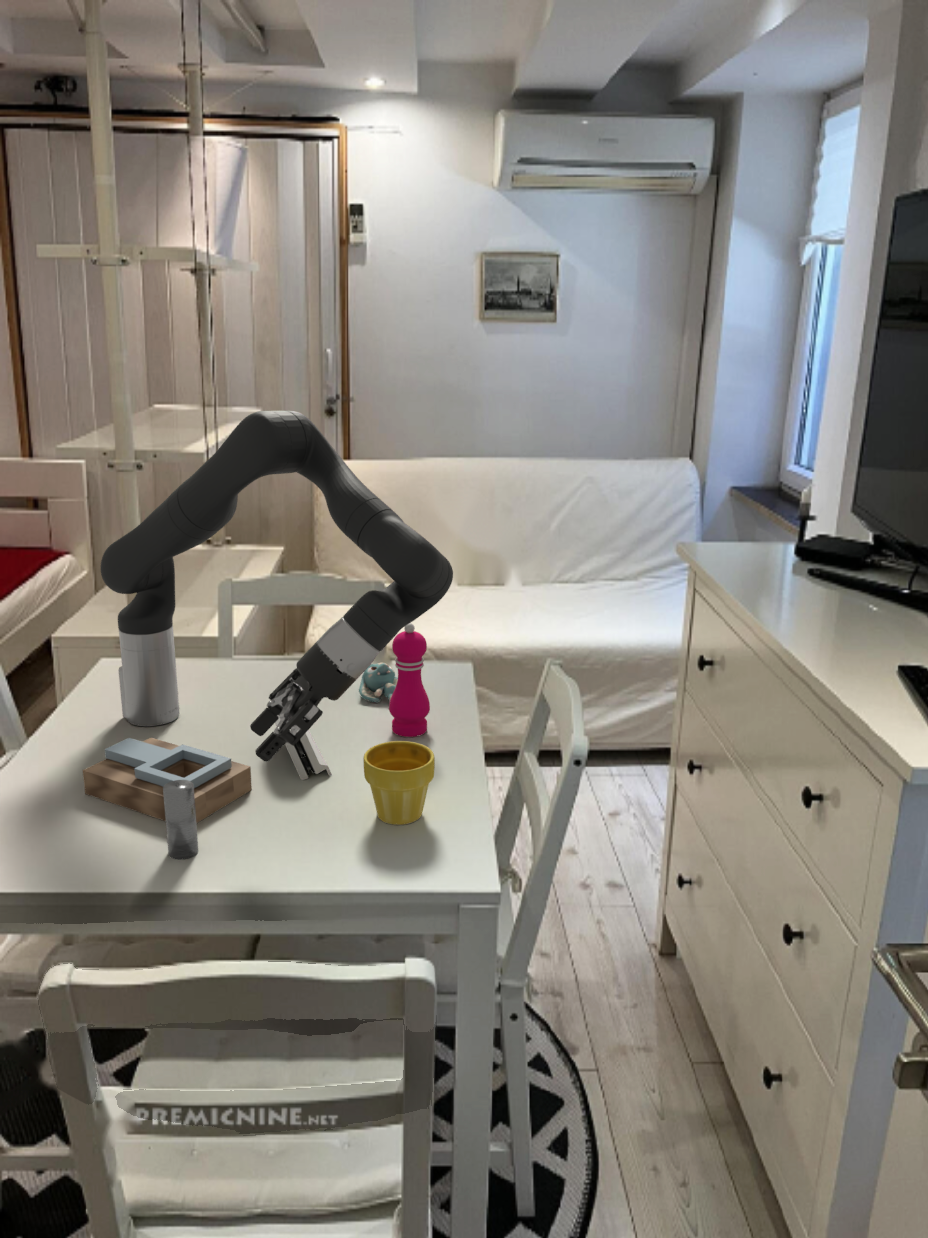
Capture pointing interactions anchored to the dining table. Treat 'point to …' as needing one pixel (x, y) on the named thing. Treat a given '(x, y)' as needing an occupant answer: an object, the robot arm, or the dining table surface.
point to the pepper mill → (409, 685)
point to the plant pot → (399, 779)
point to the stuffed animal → (377, 682)
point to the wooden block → (148, 798)
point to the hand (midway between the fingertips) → (257, 744)
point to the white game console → (306, 756)
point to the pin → (180, 819)
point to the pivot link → (166, 761)
